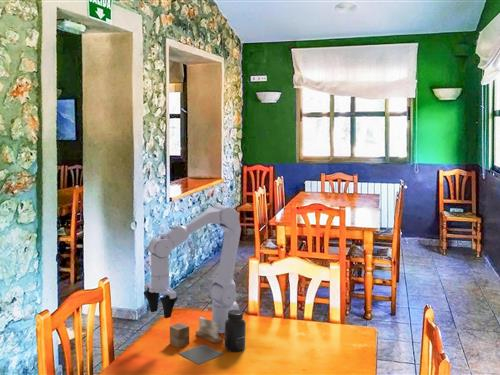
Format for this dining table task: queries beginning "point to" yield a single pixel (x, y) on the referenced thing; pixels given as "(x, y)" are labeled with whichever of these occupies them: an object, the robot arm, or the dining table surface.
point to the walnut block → (179, 335)
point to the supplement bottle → (235, 331)
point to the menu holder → (208, 330)
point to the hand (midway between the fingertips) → (160, 314)
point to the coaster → (200, 354)
